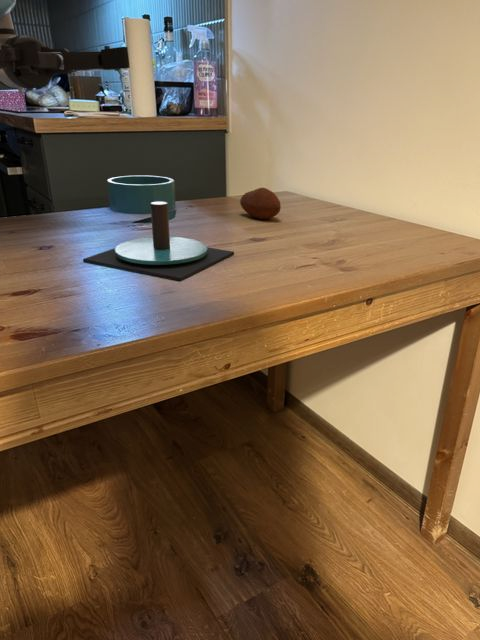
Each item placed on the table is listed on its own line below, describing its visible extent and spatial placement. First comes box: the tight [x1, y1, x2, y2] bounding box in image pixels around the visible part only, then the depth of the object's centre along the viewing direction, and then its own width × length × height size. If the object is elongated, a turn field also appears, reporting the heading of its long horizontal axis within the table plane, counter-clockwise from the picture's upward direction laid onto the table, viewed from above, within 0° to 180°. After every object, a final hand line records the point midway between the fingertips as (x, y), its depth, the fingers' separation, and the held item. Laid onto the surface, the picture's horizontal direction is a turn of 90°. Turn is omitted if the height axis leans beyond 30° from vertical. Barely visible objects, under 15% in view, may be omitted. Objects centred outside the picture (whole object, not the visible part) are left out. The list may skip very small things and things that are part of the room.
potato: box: [239, 187, 282, 220], centre depth 109 cm, size 6×12×6 cm, turn 47°
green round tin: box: [106, 175, 177, 224], centre depth 106 cm, size 14×14×8 cm
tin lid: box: [115, 202, 209, 265], centre depth 78 cm, size 15×15×8 cm
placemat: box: [82, 246, 235, 282], centre depth 80 cm, size 18×16×1 cm
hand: (83, 55), depth 70 cm, fingers open, 13 cm apart
